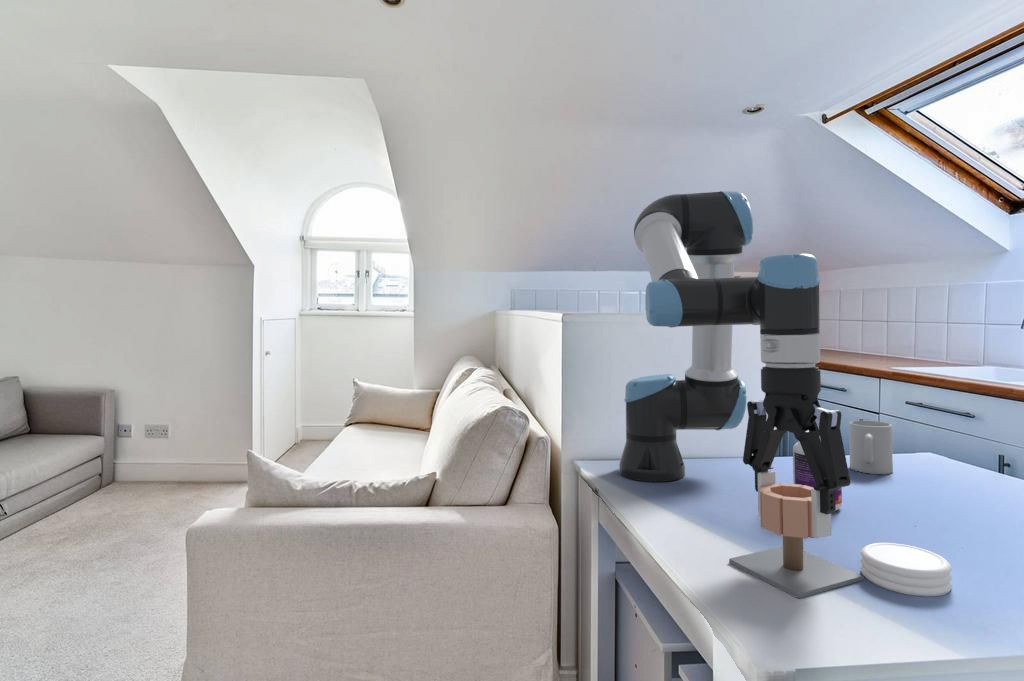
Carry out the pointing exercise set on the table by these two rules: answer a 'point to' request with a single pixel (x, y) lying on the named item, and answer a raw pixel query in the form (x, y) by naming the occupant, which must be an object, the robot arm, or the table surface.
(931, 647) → the table surface
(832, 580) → the post block
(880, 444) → the mug
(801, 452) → the pill bottle
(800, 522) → the ring
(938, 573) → the coaster
